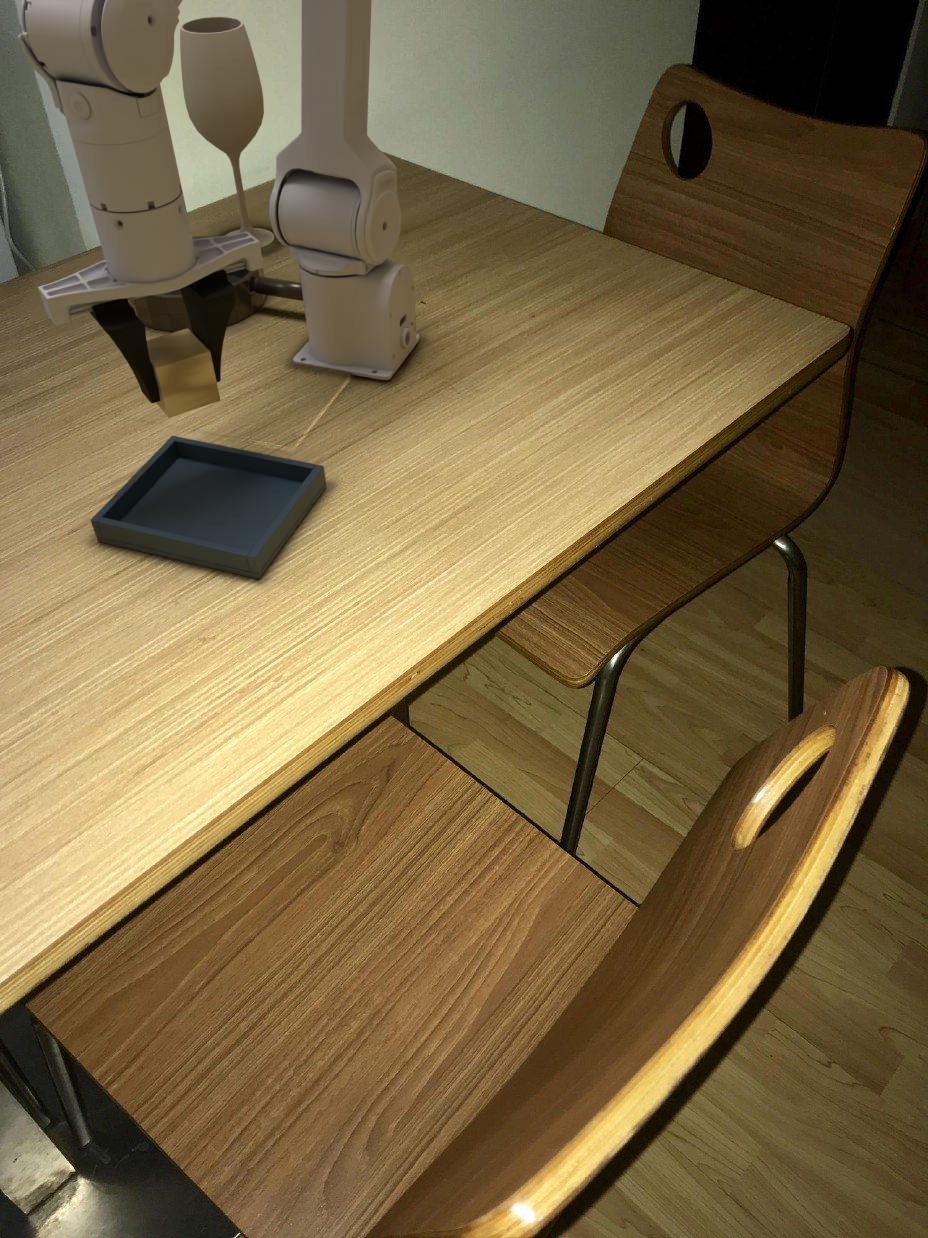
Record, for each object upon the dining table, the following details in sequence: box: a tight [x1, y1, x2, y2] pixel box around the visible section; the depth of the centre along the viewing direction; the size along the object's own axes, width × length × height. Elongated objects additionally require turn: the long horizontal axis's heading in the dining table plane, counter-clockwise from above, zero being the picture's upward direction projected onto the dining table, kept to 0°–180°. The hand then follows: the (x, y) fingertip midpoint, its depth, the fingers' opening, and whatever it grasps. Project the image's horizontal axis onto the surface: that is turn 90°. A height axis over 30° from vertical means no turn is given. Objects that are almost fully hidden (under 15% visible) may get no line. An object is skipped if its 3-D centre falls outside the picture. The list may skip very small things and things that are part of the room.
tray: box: [90, 435, 327, 580], centre depth 74 cm, size 13×11×2 cm
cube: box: [146, 328, 221, 419], centre depth 71 cm, size 4×4×4 cm
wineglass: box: [179, 16, 275, 248], centre depth 101 cm, size 8×8×21 cm
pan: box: [128, 235, 267, 333], centre depth 97 cm, size 13×13×4 cm
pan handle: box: [252, 276, 304, 302], centre depth 94 cm, size 8×2×2 cm, turn 71°
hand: (182, 386), depth 71 cm, fingers closed on cube, 4 cm apart
